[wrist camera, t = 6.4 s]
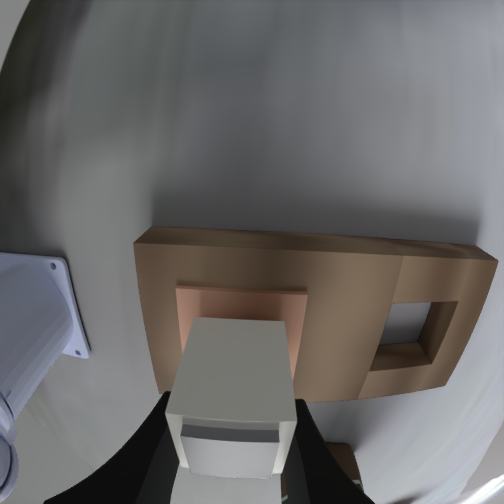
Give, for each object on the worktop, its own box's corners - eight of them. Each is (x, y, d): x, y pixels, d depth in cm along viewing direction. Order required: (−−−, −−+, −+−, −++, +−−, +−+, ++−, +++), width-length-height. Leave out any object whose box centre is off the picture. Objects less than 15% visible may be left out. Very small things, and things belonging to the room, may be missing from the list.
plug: (199, 378, 14) (179, 476, 9) (194, 316, 13) (161, 425, 7) (276, 382, 14) (282, 483, 9) (284, 321, 13) (298, 434, 7)
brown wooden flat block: (167, 367, 19) (158, 396, 16) (150, 227, 15) (131, 245, 12) (432, 364, 19) (446, 388, 16) (476, 246, 15) (501, 262, 12)
